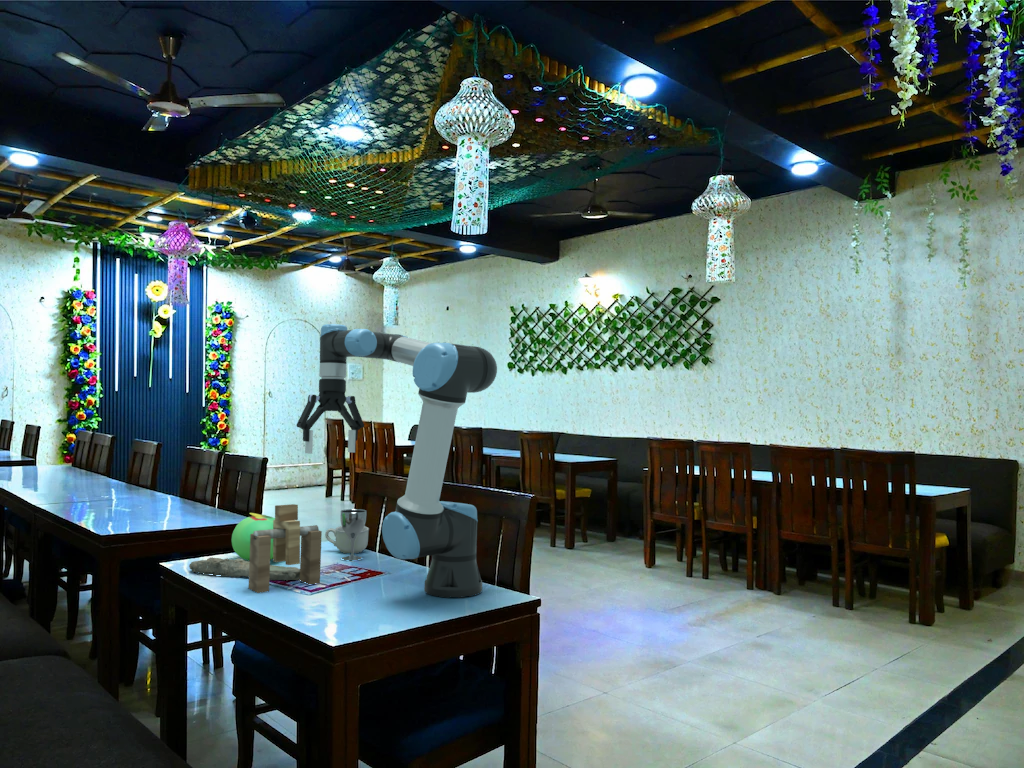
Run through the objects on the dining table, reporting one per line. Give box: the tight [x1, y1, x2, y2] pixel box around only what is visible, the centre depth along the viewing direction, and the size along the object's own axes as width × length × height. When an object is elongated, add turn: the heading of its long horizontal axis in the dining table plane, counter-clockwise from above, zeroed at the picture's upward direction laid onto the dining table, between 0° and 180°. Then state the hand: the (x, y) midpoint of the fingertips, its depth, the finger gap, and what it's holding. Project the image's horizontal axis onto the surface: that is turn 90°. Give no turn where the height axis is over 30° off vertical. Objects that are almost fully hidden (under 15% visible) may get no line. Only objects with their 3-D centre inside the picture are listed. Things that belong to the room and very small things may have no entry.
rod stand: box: [248, 524, 323, 594], centre depth 190 cm, size 6×17×15 cm, turn 131°
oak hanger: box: [272, 503, 301, 566], centre depth 190 cm, size 10×5×15 cm, turn 41°
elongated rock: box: [188, 557, 300, 581], centre depth 201 cm, size 35×5×10 cm
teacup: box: [324, 525, 370, 554], centre depth 237 cm, size 14×11×8 cm
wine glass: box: [340, 508, 367, 560], centre depth 226 cm, size 8×8×15 cm
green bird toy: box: [231, 512, 275, 562], centre depth 220 cm, size 18×17×15 cm
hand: (330, 453), depth 205 cm, fingers open, 13 cm apart
